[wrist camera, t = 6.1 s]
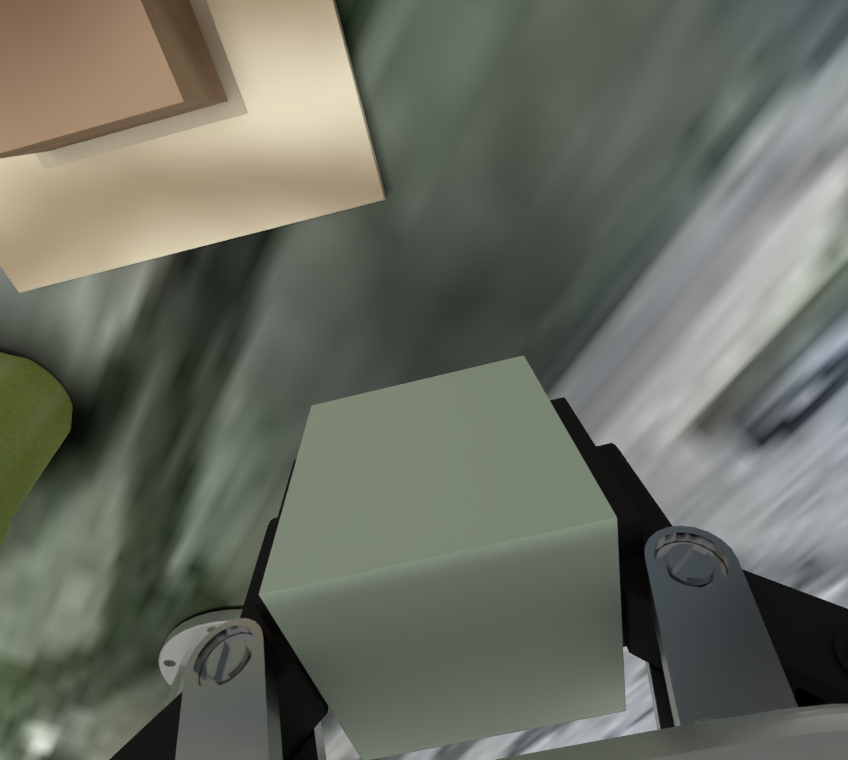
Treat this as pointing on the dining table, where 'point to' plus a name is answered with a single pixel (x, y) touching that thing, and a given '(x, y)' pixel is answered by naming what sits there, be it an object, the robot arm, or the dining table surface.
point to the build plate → (203, 155)
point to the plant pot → (27, 429)
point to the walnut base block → (97, 69)
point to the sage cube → (448, 564)
